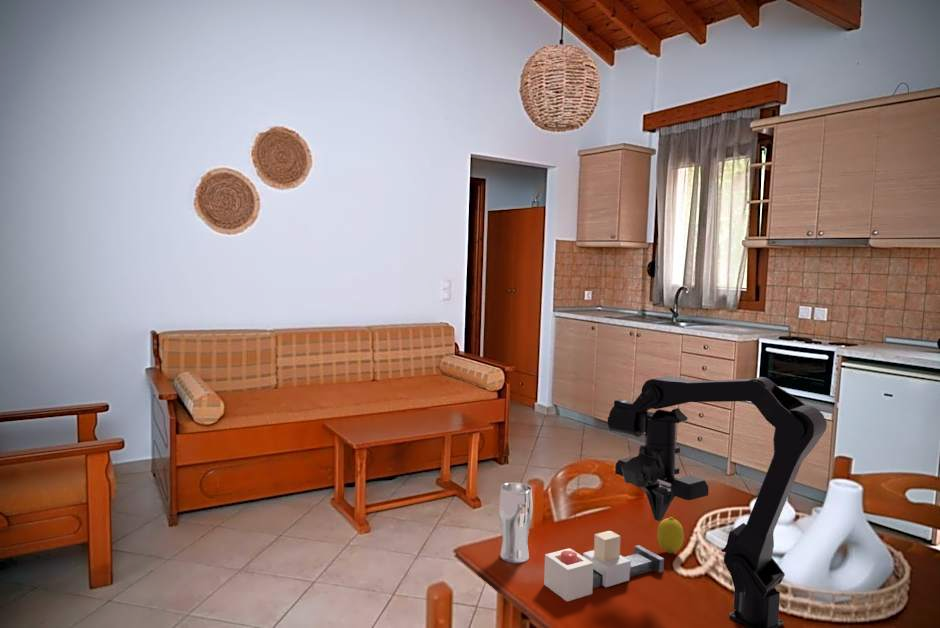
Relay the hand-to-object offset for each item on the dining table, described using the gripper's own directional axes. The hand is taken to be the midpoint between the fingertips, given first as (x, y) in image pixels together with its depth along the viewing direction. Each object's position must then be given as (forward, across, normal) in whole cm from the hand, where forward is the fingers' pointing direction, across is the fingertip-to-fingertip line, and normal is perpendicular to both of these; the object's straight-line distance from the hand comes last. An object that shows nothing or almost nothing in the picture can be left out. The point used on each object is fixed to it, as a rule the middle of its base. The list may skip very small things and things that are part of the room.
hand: (658, 520), depth 121 cm
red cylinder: (+10, -6, -17) cm, 21 cm away
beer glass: (+12, -22, -18) cm, 31 cm away
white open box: (+12, -6, -18) cm, 22 cm away
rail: (+12, -6, -5) cm, 14 cm away
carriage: (+12, -6, -8) cm, 16 cm away
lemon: (+12, -7, +12) cm, 19 cm away
